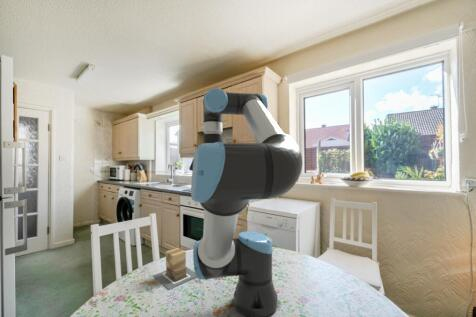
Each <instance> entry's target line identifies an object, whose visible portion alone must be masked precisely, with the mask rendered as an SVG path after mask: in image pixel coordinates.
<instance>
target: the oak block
mask: <svg viewBox="0 0 476 317" xmlns="http://www.w3.org/2000/svg"><path fill="white" fill-rule="evenodd" d="M186 252H187V251H186V250H184V249H182V248H180V247H177V248H173V249H169V250H167V251H165V267H166V266H167V267H168V268H170V269H171V270H172V271H174V270H176V269H179V268H181V267H184V266H186V265H187V264H186V263H187V259H186V257H187V255H186V254H187V253H186ZM186 267H187V266H186Z"/></svg>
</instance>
